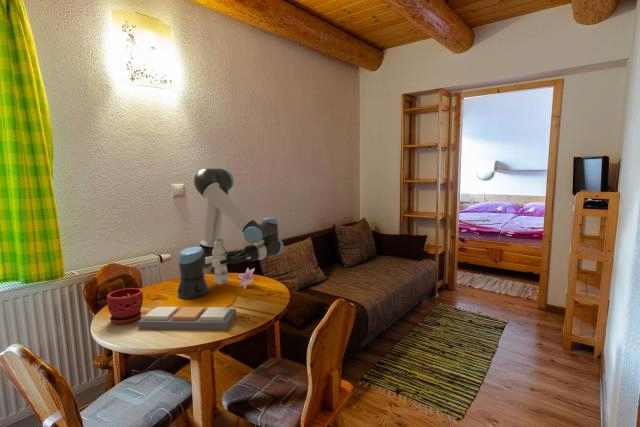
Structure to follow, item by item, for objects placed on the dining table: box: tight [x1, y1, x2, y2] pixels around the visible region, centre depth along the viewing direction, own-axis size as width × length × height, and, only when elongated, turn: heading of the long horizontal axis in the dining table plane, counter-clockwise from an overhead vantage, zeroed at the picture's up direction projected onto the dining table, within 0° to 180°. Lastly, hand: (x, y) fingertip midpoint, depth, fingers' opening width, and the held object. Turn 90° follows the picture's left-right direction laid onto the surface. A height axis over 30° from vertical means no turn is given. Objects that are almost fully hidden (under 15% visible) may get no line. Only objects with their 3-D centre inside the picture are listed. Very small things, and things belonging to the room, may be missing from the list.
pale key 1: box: [143, 306, 179, 320], centre depth 139 cm, size 9×9×2 cm
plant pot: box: [106, 287, 144, 325], centre depth 141 cm, size 13×13×12 cm
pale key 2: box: [200, 306, 232, 321], centre depth 138 cm, size 9×9×2 cm
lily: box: [238, 267, 256, 290], centre depth 182 cm, size 12×12×10 cm
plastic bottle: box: [212, 238, 230, 285], centre depth 147 cm, size 6×7×20 cm
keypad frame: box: [137, 308, 237, 331], centre depth 138 cm, size 13×36×3 cm, turn 88°
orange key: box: [172, 306, 205, 321], centre depth 138 cm, size 9×9×2 cm
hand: (209, 262), depth 144 cm, fingers closed on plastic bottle, 6 cm apart
